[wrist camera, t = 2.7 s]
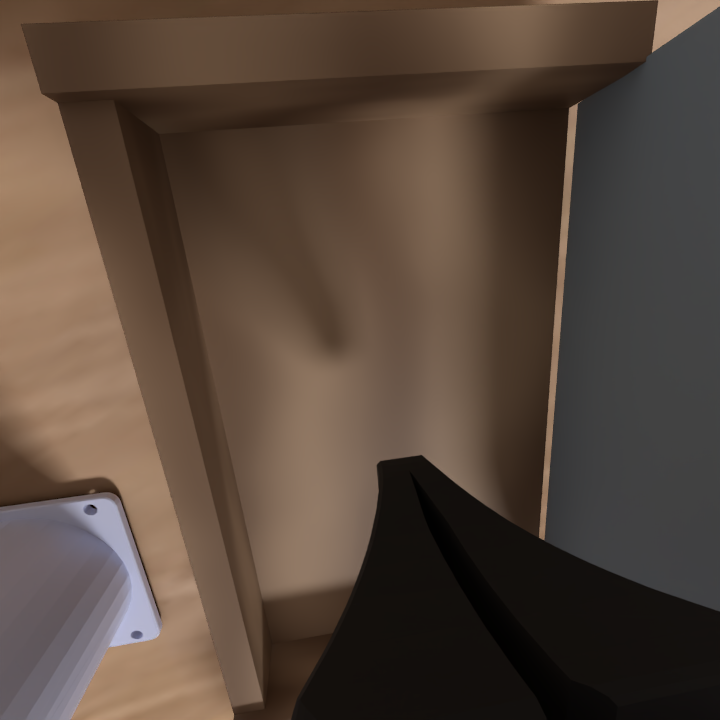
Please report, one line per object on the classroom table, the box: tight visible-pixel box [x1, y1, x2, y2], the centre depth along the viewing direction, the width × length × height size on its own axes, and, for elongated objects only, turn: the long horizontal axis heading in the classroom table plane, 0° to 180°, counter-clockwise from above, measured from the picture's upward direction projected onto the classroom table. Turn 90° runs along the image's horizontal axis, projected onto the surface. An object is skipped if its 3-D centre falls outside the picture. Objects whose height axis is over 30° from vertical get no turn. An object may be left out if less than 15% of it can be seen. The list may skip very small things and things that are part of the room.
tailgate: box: [545, 7, 720, 611], centre depth 11 cm, size 1×21×8 cm, turn 5°
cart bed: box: [21, 0, 658, 720], centre depth 13 cm, size 14×23×4 cm, turn 5°
